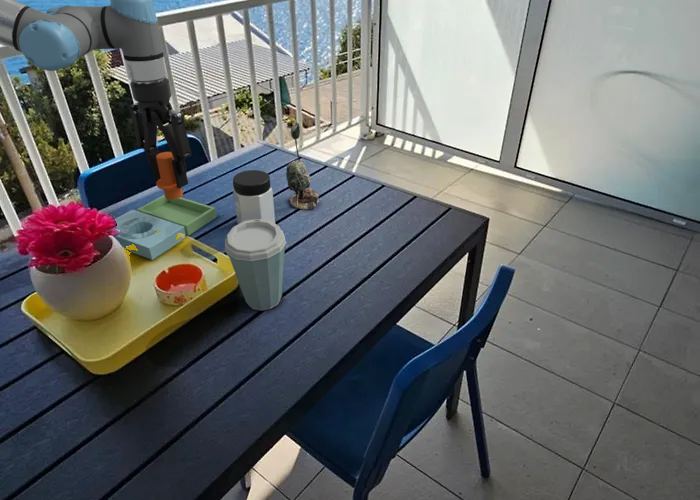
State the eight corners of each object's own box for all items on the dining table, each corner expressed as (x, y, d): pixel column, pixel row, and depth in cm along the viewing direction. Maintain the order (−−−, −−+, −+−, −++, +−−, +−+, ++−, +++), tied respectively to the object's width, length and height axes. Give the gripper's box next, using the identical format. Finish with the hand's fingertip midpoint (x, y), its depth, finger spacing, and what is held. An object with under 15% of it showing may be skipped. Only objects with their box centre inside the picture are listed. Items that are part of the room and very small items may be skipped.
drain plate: (100, 240, 111) (96, 228, 109) (135, 220, 118) (132, 209, 116) (152, 260, 104) (149, 248, 103) (186, 237, 112) (184, 226, 110)
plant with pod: (277, 210, 123) (271, 131, 112) (299, 190, 131) (295, 116, 120) (307, 216, 120) (303, 137, 109) (327, 196, 129) (326, 121, 118)
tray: (139, 218, 119) (136, 209, 117) (169, 202, 126) (167, 192, 124) (188, 235, 112) (186, 225, 111) (217, 217, 120) (215, 207, 118)
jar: (233, 219, 119) (227, 173, 112) (266, 211, 122) (261, 166, 115) (245, 237, 112) (239, 189, 105) (279, 228, 115) (275, 181, 109)
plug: (153, 198, 115) (143, 157, 109) (173, 187, 119) (165, 147, 114) (174, 204, 112) (165, 163, 107) (194, 193, 117) (186, 153, 111)
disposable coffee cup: (288, 318, 90) (282, 249, 81) (228, 319, 89) (216, 249, 81) (292, 282, 98) (288, 216, 90) (238, 283, 98) (228, 217, 90)
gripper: (198, 81, 100) (215, 184, 113) (130, 69, 108) (153, 167, 120) (170, 90, 94) (191, 198, 107) (100, 77, 102) (128, 179, 115)
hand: (171, 182), depth 114 cm, fingers closed on plug, 6 cm apart
